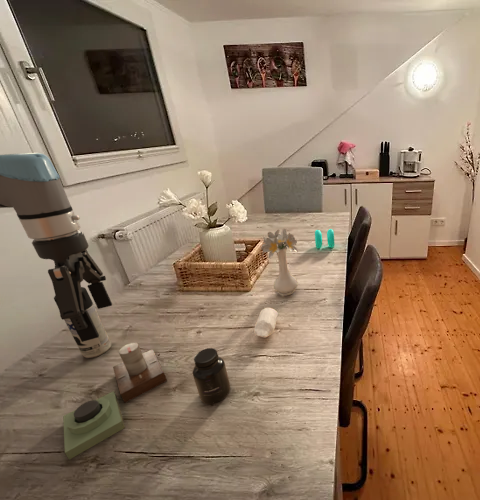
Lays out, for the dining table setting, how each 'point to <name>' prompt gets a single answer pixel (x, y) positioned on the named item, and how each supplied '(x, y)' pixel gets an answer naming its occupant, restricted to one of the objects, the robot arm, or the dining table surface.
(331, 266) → the dining table surface
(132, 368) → the dial knob
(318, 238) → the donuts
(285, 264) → the flower vase
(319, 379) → the dining table surface
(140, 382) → the dial panel
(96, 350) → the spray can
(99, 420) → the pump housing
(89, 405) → the button
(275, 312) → the roll
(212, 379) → the supplement bottle
